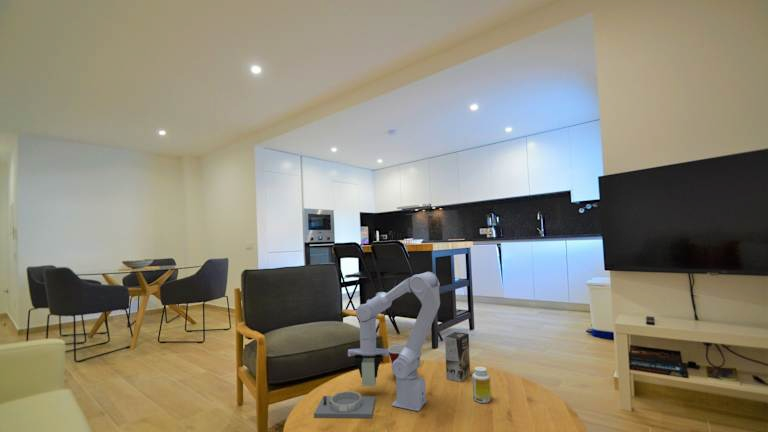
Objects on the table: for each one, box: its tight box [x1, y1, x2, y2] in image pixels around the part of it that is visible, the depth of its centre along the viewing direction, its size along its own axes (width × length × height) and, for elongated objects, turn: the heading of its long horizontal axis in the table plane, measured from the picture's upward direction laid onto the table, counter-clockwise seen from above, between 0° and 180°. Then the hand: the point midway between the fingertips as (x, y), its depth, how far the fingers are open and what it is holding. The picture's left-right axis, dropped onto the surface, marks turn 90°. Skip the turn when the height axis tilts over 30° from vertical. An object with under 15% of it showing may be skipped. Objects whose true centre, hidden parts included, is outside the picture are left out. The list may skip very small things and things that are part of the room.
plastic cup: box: [387, 343, 406, 380], centre depth 136 cm, size 11×11×12 cm
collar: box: [322, 390, 363, 412], centre depth 113 cm, size 13×10×2 cm
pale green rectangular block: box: [361, 357, 377, 387], centre depth 123 cm, size 4×5×8 cm
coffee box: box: [444, 331, 471, 383], centre depth 136 cm, size 9×6×16 cm
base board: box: [313, 395, 377, 419], centre depth 113 cm, size 18×12×1 cm, turn 86°
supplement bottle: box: [471, 366, 491, 404], centre depth 117 cm, size 6×6×10 cm
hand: (369, 376), depth 123 cm, fingers closed on pale green rectangular block, 4 cm apart
